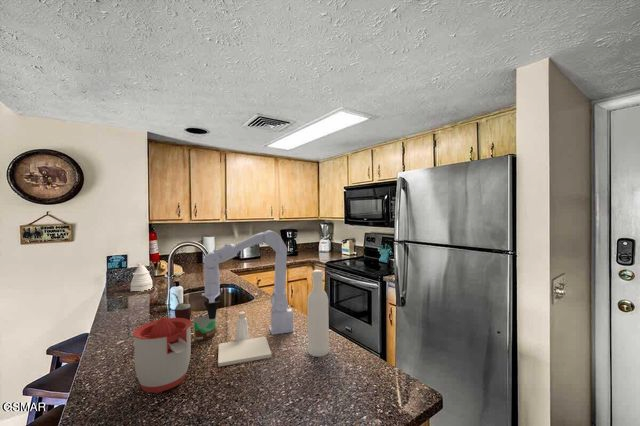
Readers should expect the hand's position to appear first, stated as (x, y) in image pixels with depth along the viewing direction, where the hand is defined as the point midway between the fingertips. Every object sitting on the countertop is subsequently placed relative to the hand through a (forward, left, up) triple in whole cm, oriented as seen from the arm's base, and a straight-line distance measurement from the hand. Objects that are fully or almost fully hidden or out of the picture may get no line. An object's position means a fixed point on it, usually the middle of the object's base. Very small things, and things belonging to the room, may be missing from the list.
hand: (212, 315), depth 115 cm
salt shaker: (-11, +4, -10) cm, 16 cm away
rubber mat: (-11, +15, -10) cm, 21 cm away
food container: (+2, -4, -10) cm, 11 cm away
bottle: (-37, +24, -10) cm, 46 cm away
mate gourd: (+15, -27, -10) cm, 32 cm away
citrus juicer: (+13, +26, -10) cm, 31 cm away
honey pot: (+50, -102, -10) cm, 114 cm away
